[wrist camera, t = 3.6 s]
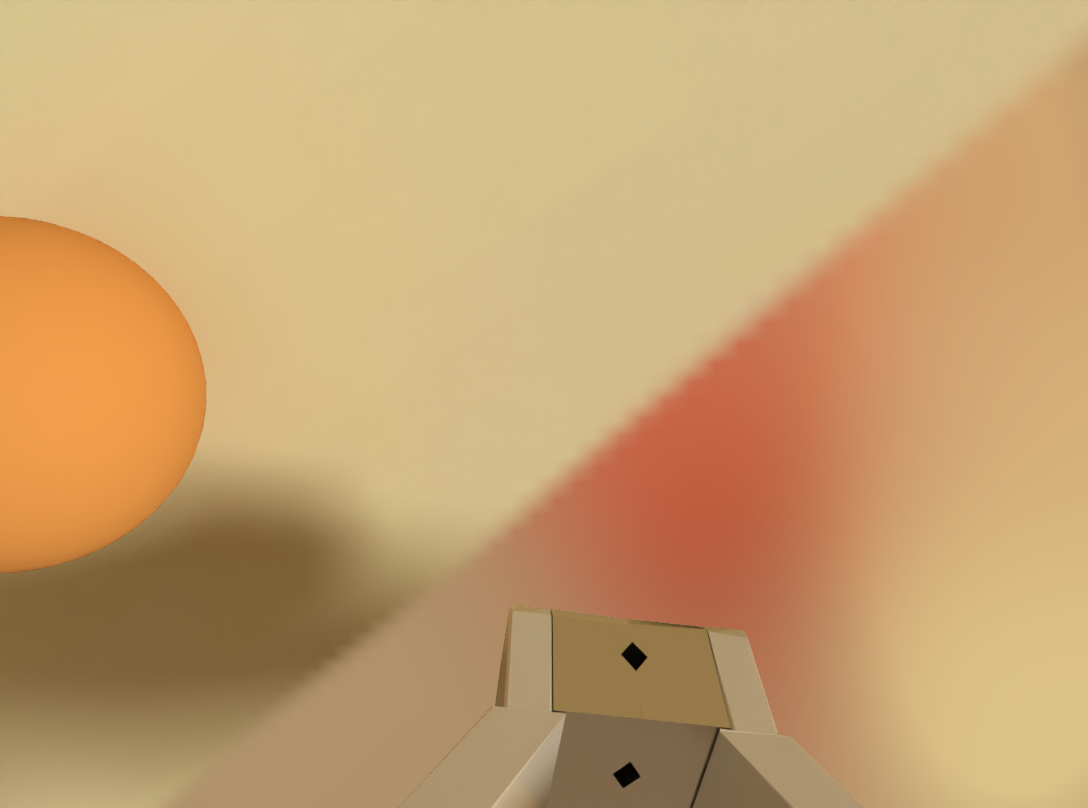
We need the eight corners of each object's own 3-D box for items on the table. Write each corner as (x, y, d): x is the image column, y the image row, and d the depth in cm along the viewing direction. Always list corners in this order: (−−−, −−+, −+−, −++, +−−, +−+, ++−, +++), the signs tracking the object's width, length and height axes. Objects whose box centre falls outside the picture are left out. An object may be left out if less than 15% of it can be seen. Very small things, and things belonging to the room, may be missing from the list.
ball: (-85, 157, 13) (-444, 262, 9) (243, 199, 14) (77, 324, 9) (-17, 433, 16) (-262, 633, 11) (257, 463, 16) (135, 671, 11)
